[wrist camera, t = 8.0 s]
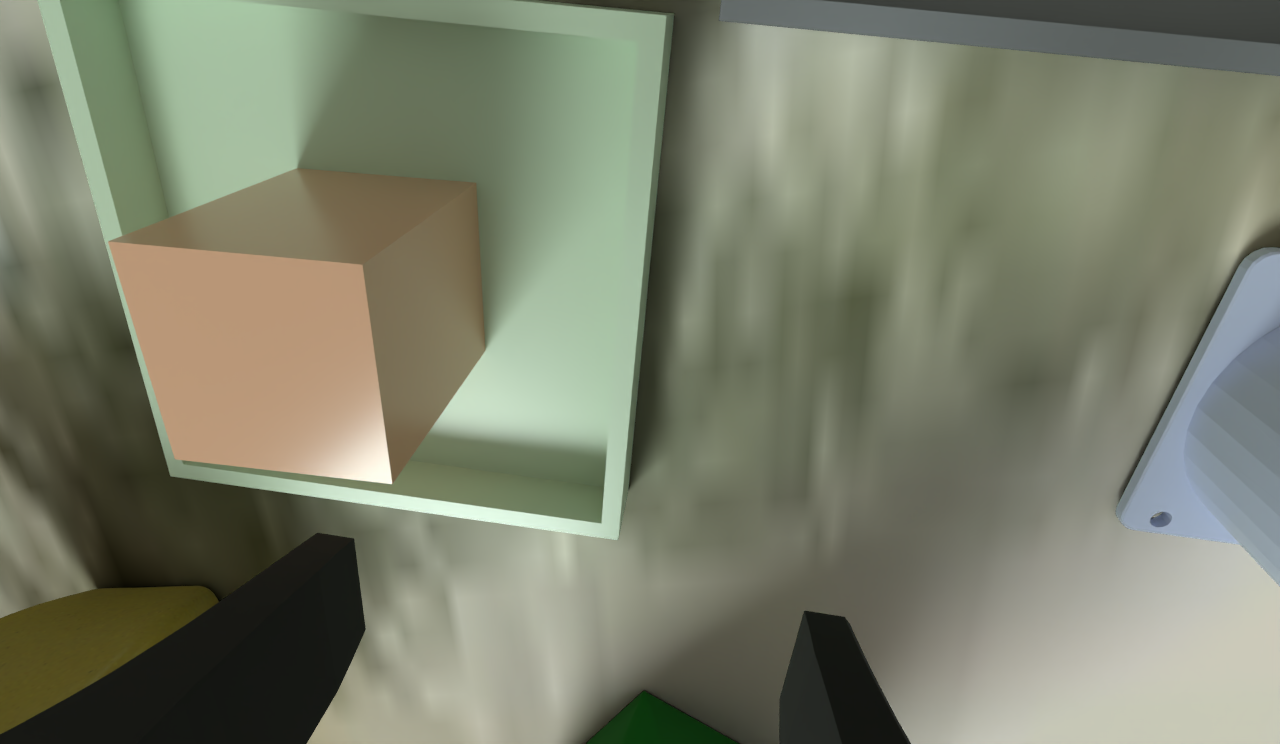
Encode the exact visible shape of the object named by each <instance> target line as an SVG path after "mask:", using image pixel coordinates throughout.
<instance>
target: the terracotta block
mask: <svg viewBox="0 0 1280 744" xmlns="http://www.w3.org/2000/svg"><path fill="white" fill-rule="evenodd" d="M108 244H109V247H110V250H111V253H112V257H113V260H114V263H115V266H116V270H117V273H118V276H119V279H120V283H121V286H122V289H123V292H124V296H125V299H126V302H127V305H128V309H129V312H130V315H131V318H132V322H133V325H134V328H135V331H136V335H137V338H138V341H139V344H140V348H141V351H142V354H143V357H144V361H145V364H146V367H147V370H148V374H149V377H150V380H151V383H152V387H153V390H154V393H155V396H156V400H157V403H158V406H159V409H160V413H161V416H162V419H163V422H164V426H165V429H166V432H167V435H168V439H169V442H170V445H171V448H172V452H173V455H174V458H175V459H176V460H185V461H194V462H203V463H211V464H220V465H229V466H238V467H246V468H255V469H264V470H273V471H281V472H290V473H299V474H308V475H316V476H325V477H334V478H343V479H351V480H360V481H369V482H378V483H386V484H393V483H394V481H395V480H396V478H397V477H398V475H399V474H400V473H401V471H402V470H403V468H404V467H405V465H406V464H407V463H408V461H409V460H410V458H411V457H412V455H413V454H414V453H415V451H416V450H417V448H418V447H419V445H420V444H421V442H422V441H423V440H424V438H425V437H426V435H427V434H428V432H429V431H430V430H431V428H432V427H433V425H434V424H435V422H436V421H437V420H438V418H439V417H440V415H441V414H442V412H443V411H444V410H445V408H446V407H447V405H448V404H449V402H450V401H451V399H452V398H453V397H454V395H455V394H456V392H457V391H458V389H459V388H460V387H461V385H462V384H463V382H464V381H465V379H466V378H467V377H468V375H469V374H470V372H471V371H472V369H473V368H474V366H475V365H476V364H477V362H478V361H479V359H480V358H481V356H482V355H483V354H484V352H485V332H484V314H483V296H482V277H481V259H480V241H479V223H478V204H477V186H476V183H474V182H462V181H450V180H437V179H425V178H413V177H400V176H388V175H376V174H363V173H351V172H339V171H326V170H314V169H302V168H296V169H293V170H291V171H288V172H286V173H283V174H280V175H278V176H275V177H273V178H270V179H268V180H265V181H262V182H260V183H257V184H255V185H252V186H250V187H247V188H244V189H242V190H239V191H237V192H234V193H232V194H229V195H226V196H224V197H221V198H219V199H216V200H213V201H211V202H208V203H206V204H203V205H201V206H198V207H195V208H193V209H190V210H188V211H185V212H183V213H180V214H177V215H175V216H172V217H170V218H167V219H165V220H162V221H159V222H157V223H154V224H152V225H149V226H147V227H144V228H141V229H139V230H136V231H134V232H131V233H128V234H126V235H123V236H121V237H118V238H116V239H113V240H110V241H108Z"/></svg>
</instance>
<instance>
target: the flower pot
mask: <svg viewBox="0 0 1280 744" xmlns="http://www.w3.org/2000/svg"><path fill="white" fill-rule="evenodd" d="M218 602H219V601H218V599H217V598H216V596H215V594H214V593H213V592H212V591H211V590H210V589H208V588H206V587H202V586H172V587H145V588H101V589H94V590H90V591H86V592H82V593H78V594H74V595H70V596H67V597H63V598H59V599H56V600H52V601H49V602H45V603H42V604H39V605H35V606H33V607H30V608H27V609H24V610H21V611H18V612H16V613H13V614H10V615H8V616H5V617H3V618H0V734H2V733H4V732H6V731H8V730H9V729H11V728H13V727H15V726H17V725H19V724H21V723H23V722H25V721H26V720H28V719H30V718H32V717H34V716H35V715H37V714H39V713H41V712H43V711H45V710H46V709H48V708H50V707H52V706H54V705H55V704H57V703H59V702H61V701H63V700H64V699H66V698H68V697H70V696H72V695H73V694H75V693H77V692H79V691H80V690H82V689H84V688H85V687H87V686H89V685H91V684H92V683H94V682H96V681H97V680H99V679H101V678H102V677H104V676H106V675H107V674H109V673H111V672H112V671H114V670H116V669H117V668H119V667H120V666H122V665H124V664H125V663H127V662H128V661H130V660H131V659H133V658H135V657H136V656H138V655H139V654H141V653H142V652H144V651H146V650H147V649H149V648H150V647H152V646H153V645H155V644H157V643H158V642H160V641H161V640H163V639H164V638H166V637H168V636H169V635H171V634H172V633H174V632H175V631H177V630H179V629H180V628H182V627H183V626H185V625H186V624H188V623H189V622H191V621H192V620H194V619H195V618H196V617H198V616H199V615H201V614H202V613H204V612H205V611H207V610H208V609H210V608H211V607H212V606H214V605H215V604H217V603H218Z"/></svg>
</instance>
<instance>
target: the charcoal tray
mask: <svg viewBox="0 0 1280 744" xmlns="http://www.w3.org/2000/svg"><path fill="white" fill-rule="evenodd" d="M719 21H727V22H737V23H747V24H757V25H767V26H777V27H788V28H798V29H808V30H818V31H828V32H838V33H848V34H859V35H869V36H879V37H889V38H899V39H909V40H920V41H930V42H940V43H950V44H960V45H970V46H981V47H991V48H1001V49H1011V50H1021V51H1031V52H1042V53H1052V54H1062V55H1072V56H1082V57H1092V58H1103V59H1113V60H1123V61H1133V62H1143V63H1153V64H1164V65H1174V66H1184V67H1194V68H1204V69H1214V70H1225V71H1235V72H1245V73H1255V74H1265V75H1275V76H1280V0H721V7H720V16H719Z"/></svg>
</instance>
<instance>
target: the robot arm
mask: <svg viewBox="0 0 1280 744" xmlns="http://www.w3.org/2000/svg"><path fill="white" fill-rule="evenodd" d="M1159 512H1163V513H1162V514H1161V515H1159V516H1157V517H1155V518H1151V517H1152V516H1153V515H1154V514H1156V513H1159ZM1116 515H1117V518H1118V519H1119V520H1120V522H1121V523H1122V524H1123V525H1124V526H1125V527H1126V528H1128V529H1132V530H1137V531H1144V532H1151V533H1159V534H1166V535H1173V536H1181V537H1188V538H1195V539H1203V540H1210V541H1217V542H1225V543H1232V544H1240V545H1241V546H1242V547H1243V548H1244V549H1245V550H1246V551H1247V552H1248V553H1249V554H1250V555H1251V557H1252V558H1253V559H1254V560H1255V561H1256V562H1257V563H1258V564H1259V565H1260V566H1261V567H1262V568H1263V569H1264V570H1265V571H1266V573H1267V574H1268V575H1269V576H1270V577H1271V578H1272V579H1273V580H1274V581H1275V582H1276V583H1277V584H1278V585H1279V586H1280V248H1275V247H1268V248H1261V249H1259V250H1256V251H1253V252H1252V253H1251V254H1249V255H1248V256H1247V257H1245V258H1244V260H1243V261H1242V262H1241V264H1240V265H1239V267H1238V269H1237V271H1236V273H1235V274H1234V276H1233V278H1232V280H1231V282H1230V284H1229V286H1228V288H1227V290H1226V292H1225V294H1224V296H1223V298H1222V300H1221V302H1220V304H1219V306H1218V308H1217V310H1216V312H1215V314H1214V316H1213V318H1212V320H1211V322H1210V324H1209V326H1208V328H1207V330H1206V332H1205V334H1204V336H1203V338H1202V340H1201V341H1200V343H1199V345H1198V347H1197V349H1196V351H1195V353H1194V355H1193V357H1192V359H1191V361H1190V363H1189V365H1188V367H1187V369H1186V371H1185V373H1184V375H1183V377H1182V379H1181V381H1180V383H1179V385H1178V387H1177V389H1176V391H1175V393H1174V395H1173V397H1172V399H1171V401H1170V403H1169V405H1168V407H1167V409H1166V410H1165V412H1164V414H1163V416H1162V418H1161V420H1160V422H1159V424H1158V426H1157V428H1156V430H1155V432H1154V434H1153V436H1152V438H1151V440H1150V442H1149V444H1148V446H1147V448H1146V450H1145V452H1144V454H1143V456H1142V458H1141V460H1140V462H1139V464H1138V466H1137V468H1136V470H1135V472H1134V474H1133V476H1132V477H1131V479H1130V481H1129V483H1128V485H1127V487H1126V489H1125V491H1124V493H1123V495H1122V497H1121V499H1120V501H1119V503H1118V505H1117V508H1116ZM364 632H365V622H364V614H363V606H362V598H361V591H360V583H359V575H358V567H357V559H356V551H355V544H354V539H353V538H346V537H340V536H334V535H328V534H321V533H317V534H315V535H314V536H312V537H311V538H309V539H308V540H306V541H305V542H304V543H302V544H301V545H299V546H298V547H296V548H295V549H294V550H292V551H291V552H289V553H288V554H287V555H285V556H284V557H282V558H281V559H279V560H278V561H277V562H275V563H274V564H272V565H271V566H270V567H268V568H267V569H265V570H264V571H263V572H261V573H260V574H258V575H257V576H256V577H254V578H253V579H251V580H250V581H248V582H247V583H246V584H244V585H243V586H241V587H240V588H239V589H237V590H236V591H234V592H233V593H231V594H230V595H229V596H227V597H226V598H224V599H223V600H221V601H220V602H218V603H217V604H215V605H214V606H212V607H211V608H210V609H208V610H207V611H205V612H204V613H202V614H201V615H199V616H198V617H196V618H195V619H194V620H192V621H191V622H189V623H188V624H186V625H185V626H183V627H182V628H180V629H179V630H177V631H175V632H174V633H172V634H171V635H169V636H168V637H166V638H164V639H163V640H161V641H160V642H158V643H157V644H155V645H153V646H152V647H150V648H149V649H147V650H146V651H144V652H142V653H141V654H139V655H138V656H136V657H135V658H133V659H131V660H130V661H128V662H127V663H125V664H124V665H122V666H120V667H119V668H117V669H116V670H114V671H112V672H111V673H109V674H107V675H106V676H104V677H102V678H101V679H99V680H97V681H96V682H94V683H92V684H91V685H89V686H87V687H85V688H84V689H82V690H80V691H79V692H77V693H75V694H73V695H72V696H70V697H68V698H66V699H64V700H63V701H61V702H59V703H57V704H55V705H54V706H52V707H50V708H48V709H46V710H45V711H43V712H41V713H39V714H37V715H35V716H34V717H32V718H30V719H28V720H26V721H25V722H23V723H21V724H19V725H17V726H15V727H13V728H11V729H9V730H8V731H6V732H4V733H2V734H0V744H306V743H307V742H308V740H309V739H310V737H311V735H312V733H313V732H314V730H315V728H316V727H317V725H318V723H319V722H320V720H321V718H322V717H323V715H324V713H325V712H326V710H327V708H328V707H329V705H330V703H331V701H332V700H333V698H334V696H335V695H336V693H337V691H338V689H339V687H340V685H341V683H342V681H343V678H344V676H345V674H346V672H347V670H348V668H349V666H350V664H351V661H352V659H353V657H354V654H355V652H356V650H357V648H358V645H359V643H360V641H361V638H362V636H363V634H364ZM779 741H780V744H911V743H910V741H909V740H908V738H907V736H906V734H905V732H904V731H903V729H902V727H901V725H900V724H899V722H898V720H897V718H896V716H895V714H894V713H893V711H892V709H891V707H890V705H889V703H888V701H887V699H886V697H885V696H884V694H883V692H882V690H881V688H880V686H879V684H878V682H877V680H876V678H875V676H874V674H873V672H872V670H871V668H870V666H869V664H868V662H867V660H866V658H865V656H864V654H863V652H862V649H861V647H860V645H859V643H858V641H857V639H856V637H855V634H854V632H853V630H852V628H851V626H850V624H849V622H848V621H847V620H846V618H845V617H841V616H834V615H828V614H822V613H816V612H809V611H804V614H803V617H802V621H801V625H800V628H799V632H798V635H797V639H796V642H795V646H794V650H793V653H792V657H791V660H790V664H789V667H788V671H787V675H786V678H785V682H784V685H783V689H782V693H781V696H780V730H779Z"/></svg>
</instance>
